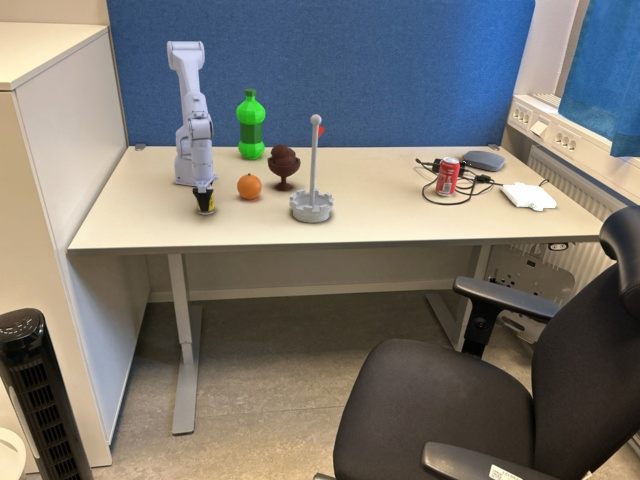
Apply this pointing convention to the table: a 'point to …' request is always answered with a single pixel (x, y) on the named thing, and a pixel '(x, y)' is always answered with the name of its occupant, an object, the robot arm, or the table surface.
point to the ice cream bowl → (283, 164)
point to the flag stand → (312, 188)
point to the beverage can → (447, 176)
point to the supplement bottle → (211, 205)
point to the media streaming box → (484, 160)
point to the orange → (249, 186)
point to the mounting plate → (528, 196)
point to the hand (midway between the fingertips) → (205, 205)
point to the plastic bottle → (250, 126)
